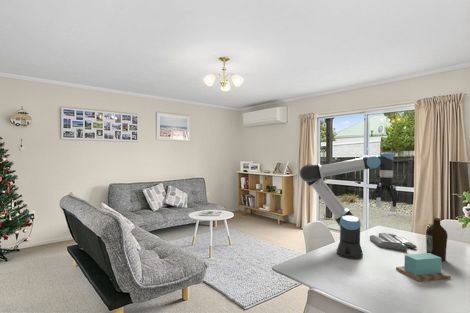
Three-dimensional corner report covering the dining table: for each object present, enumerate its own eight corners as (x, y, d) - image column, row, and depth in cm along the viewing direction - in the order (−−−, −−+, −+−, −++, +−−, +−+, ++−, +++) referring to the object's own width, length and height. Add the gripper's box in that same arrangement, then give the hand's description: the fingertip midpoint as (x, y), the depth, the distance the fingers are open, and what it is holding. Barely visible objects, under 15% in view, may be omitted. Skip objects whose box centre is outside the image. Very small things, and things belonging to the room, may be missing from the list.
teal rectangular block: (415, 275, 138) (416, 259, 138) (404, 269, 145) (404, 254, 145) (441, 272, 141) (441, 257, 141) (428, 267, 148) (429, 252, 148)
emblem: (424, 241, 184) (398, 246, 172) (424, 248, 184) (398, 254, 172) (386, 230, 209) (361, 234, 197) (386, 236, 209) (361, 241, 197)
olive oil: (441, 256, 169) (442, 216, 169) (450, 262, 159) (451, 220, 159) (422, 254, 172) (423, 215, 171) (430, 260, 161) (431, 219, 161)
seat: (418, 281, 134) (418, 273, 134) (396, 269, 148) (396, 262, 148) (450, 278, 138) (450, 270, 138) (426, 267, 152) (426, 260, 152)
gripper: (406, 178, 162) (405, 213, 162) (378, 175, 187) (377, 205, 187) (395, 178, 161) (394, 213, 161) (368, 175, 185) (367, 205, 186)
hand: (385, 209), depth 174 cm, fingers open, 13 cm apart
